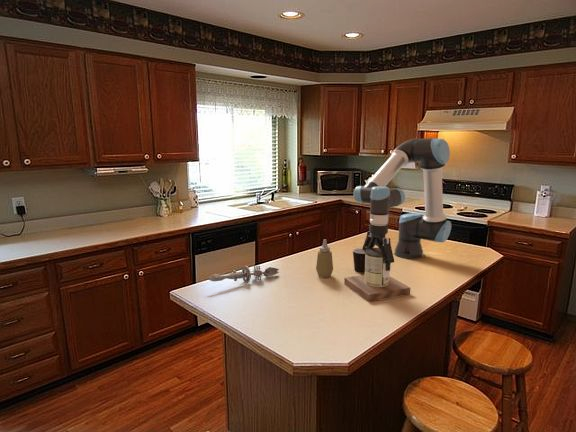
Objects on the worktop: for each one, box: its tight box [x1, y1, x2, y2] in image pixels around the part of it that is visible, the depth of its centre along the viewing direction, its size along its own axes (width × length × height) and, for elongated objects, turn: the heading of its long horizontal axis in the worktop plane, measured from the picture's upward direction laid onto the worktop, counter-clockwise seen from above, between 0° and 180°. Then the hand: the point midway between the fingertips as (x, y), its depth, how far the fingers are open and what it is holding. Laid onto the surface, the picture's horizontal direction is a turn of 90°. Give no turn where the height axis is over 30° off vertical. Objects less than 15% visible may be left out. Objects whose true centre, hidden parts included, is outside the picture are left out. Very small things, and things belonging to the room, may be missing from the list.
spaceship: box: [208, 265, 280, 284], centre depth 171 cm, size 8×35×8 cm
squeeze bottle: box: [315, 239, 334, 279], centre depth 177 cm, size 8×8×18 cm
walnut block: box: [343, 274, 411, 303], centre depth 163 cm, size 20×20×3 cm
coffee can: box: [364, 247, 389, 287], centre depth 161 cm, size 10×10×14 cm
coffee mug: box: [352, 247, 365, 274], centre depth 184 cm, size 12×9×10 cm
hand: (376, 272), depth 162 cm, fingers open, 13 cm apart
